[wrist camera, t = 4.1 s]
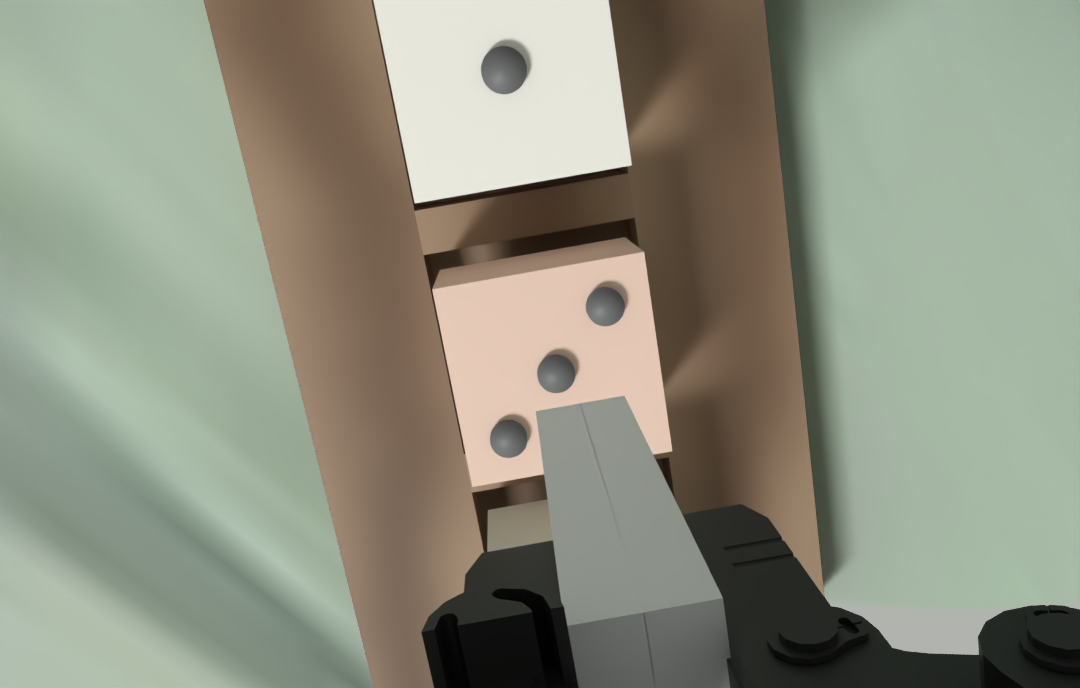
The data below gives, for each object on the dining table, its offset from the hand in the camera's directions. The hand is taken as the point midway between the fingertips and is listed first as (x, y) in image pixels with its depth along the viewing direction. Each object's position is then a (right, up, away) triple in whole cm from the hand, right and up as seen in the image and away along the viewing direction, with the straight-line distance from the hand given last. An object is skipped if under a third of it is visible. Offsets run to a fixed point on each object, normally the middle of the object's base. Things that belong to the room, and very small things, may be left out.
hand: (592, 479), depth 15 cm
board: (-1, +3, +12) cm, 12 cm away
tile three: (-1, +2, +9) cm, 9 cm away
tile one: (-2, +9, +7) cm, 12 cm away
